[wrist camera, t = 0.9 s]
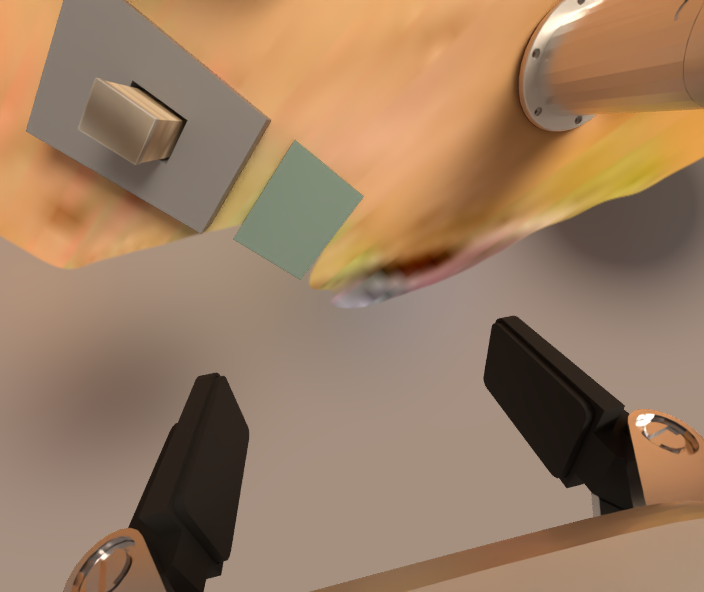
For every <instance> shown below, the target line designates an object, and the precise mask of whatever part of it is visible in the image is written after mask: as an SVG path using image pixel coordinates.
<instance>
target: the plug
mask: <svg viewBox="0 0 704 592" xmlns="http://www.w3.org/2000/svg"><path fill="white" fill-rule="evenodd" d="M187 121H188V120H186V119H185V118H184V117H182V116H181V115H180V114H178V113H177V112H176V111H174V110H173V109H171V108H170V107H169V106H167V105H166V104H165V103H163V102H162V101H160V100H159V99H158V98H156V97H155V96H154V95H152V94H151V93H149V92H148V91H146V90H142V89H138V88H134V87H129V86H125V85H121V84H117V83H113V82H109V81H105V80H103V79H100V78H95V81H94V84H93V87H92V90H91V93H90V95H89V98H88V101H87V104H86V107H85V110H84V113H83V115H82V118H81V121H80V124H79V127H78V130H80V131H82V132H83V133H85V134H86V135H88V136H90V137H91V138H93V139H95V140H96V141H98V142H99V143H101V144H103V145H104V146H106V147H107V148H109V149H111V150H112V151H114V152H115V153H117V154H119V155H120V156H122V157H123V158H125V159H127V160H128V161H130V162H131V163H133V164H135V165H138V164H141V163H143V162H148V161H153V160H158V159H163V158H168V157H170V156H171V154H172V152H173V150H174V148H175V146H176V144H177V141H178V139H179V137H180V135H181V133H182V131H183V129H184V127H185V125H186V123H187Z"/></svg>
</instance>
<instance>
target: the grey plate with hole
mask: <svg viewBox="0 0 704 592" xmlns="http://www.w3.org/2000/svg"><path fill="white" fill-rule="evenodd" d="M95 78H100V79H103V80H105V81H109V82H113V83H117V84H121V85H125V86H129V87H134V88H138V89H142V90H146V91H148V92H149V93H151V94H152V95H154V96H155V97H156V98H158V99H159V100H160V101H162V102H163V103H165V104H166V105H167V106H169V107H170V108H171V109H173V110H174V111H176V112H177V113H178V114H180V115H181V116H182V117H184V118H185V119H186V120H188V121H187V123H186V125H185V127H184V129H183V131H182V133H181V135H180V137H179V139H178V141H177V144H176V146H175V148H174V150H173V152H172V154H171V156H170V157H168V158H163V159H158V160H153V161H148V162H143V163H141V164H138V165H135V164H133V163H131V162H130V161H128V160H127V159H125V158H123V157H122V156H120V155H119V154H117V153H115V152H114V151H112V150H111V149H109V148H107V147H106V146H104V145H103V144H101V143H99V142H98V141H96V140H95V139H93V138H91V137H90V136H88V135H86V134H85V133H83V132H82V131H80V130H78V127H79V124H80V121H81V118H82V115H83V113H84V110H85V107H86V104H87V101H88V98H89V95H90V93H91V90H92V87H93V84H94V81H95ZM270 122H271V120H270V119H269V118H268V117H267V116H265V115H264V114H263V113H262V112H261V111H259V110H258V109H257V108H256V107H255V106H253V105H252V104H251V103H250V102H248V101H247V100H246V99H245V98H244V97H242V96H241V95H240V94H239V93H238V92H236V91H235V90H234V89H233V88H231V87H230V86H229V85H228V84H227V83H225V82H224V81H223V80H222V79H221V78H219V77H218V76H217V75H216V74H215V73H213V72H212V71H211V70H210V69H208V68H207V67H206V66H205V65H204V64H202V63H201V62H200V61H199V60H198V59H196V58H195V57H194V56H193V55H191V54H190V53H189V52H188V51H187V50H185V49H184V48H183V47H182V46H181V45H179V44H178V43H177V42H176V41H174V40H173V39H172V38H171V37H170V36H168V35H167V34H166V33H165V32H164V31H162V30H161V29H160V28H159V27H157V26H156V25H155V24H154V23H153V22H151V21H150V20H149V19H148V18H147V17H145V16H144V15H143V14H142V13H140V12H139V11H138V10H137V9H136V8H134V7H133V6H132V5H131V4H130V3H128V2H127V1H126V0H63V4H62V7H61V11H60V14H59V18H58V21H57V24H56V28H55V31H54V35H53V38H52V42H51V45H50V49H49V52H48V56H47V59H46V63H45V66H44V70H43V73H42V77H41V80H40V84H39V87H38V91H37V94H36V98H35V101H34V105H33V108H32V112H31V115H30V118H29V122H28V125H27V129H26V132H28V133H30V134H31V135H33V136H35V137H37V138H38V139H40V140H42V141H43V142H45V143H47V144H49V145H50V146H52V147H54V148H55V149H57V150H59V151H60V152H62V153H64V154H66V155H67V156H69V157H71V158H72V159H74V160H76V161H78V162H79V163H81V164H83V165H84V166H86V167H88V168H90V169H91V170H93V171H95V172H96V173H98V174H100V175H101V176H103V177H105V178H107V179H108V180H110V181H112V182H113V183H115V184H117V185H119V186H120V187H122V188H124V189H125V190H127V191H129V192H131V193H132V194H134V195H136V196H137V197H139V198H141V199H142V200H144V201H146V202H148V203H149V204H151V205H153V206H154V207H156V208H158V209H160V210H161V211H163V212H165V213H166V214H168V215H170V216H172V217H173V218H175V219H177V220H178V221H180V222H182V223H183V224H185V225H187V226H189V227H190V228H192V229H194V230H195V231H197V232H199V233H202V232H203V231H204V230H205V229H206V228H208V227H209V226H210V225H211V224H212V222H213V220H214V218H215V217H216V215H217V213H218V211H219V210H220V208H221V206H222V205H223V203H224V201H225V199H226V198H227V196H228V194H229V192H230V191H231V189H232V187H233V186H234V184H235V182H236V180H237V179H238V177H239V175H240V174H241V172H242V170H243V168H244V167H245V165H246V163H247V161H248V160H249V158H250V156H251V155H252V153H253V151H254V149H255V148H256V146H257V144H258V142H259V141H260V139H261V137H262V136H263V134H264V132H265V130H266V129H267V127H268V125H269V123H270Z"/></svg>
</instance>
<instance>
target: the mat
mask: <svg viewBox="0 0 704 592" xmlns="http://www.w3.org/2000/svg"><path fill="white" fill-rule="evenodd" d="M362 198H363V195H361V194H360V193H359V192H358V191H356V190H355V189H354V188H353V187H352V186H350V185H349V184H348V183H347V182H346V181H344V180H343V179H342V178H341V177H340V176H338V175H337V174H336V173H335V172H333V171H332V170H331V169H330V168H329V167H327V166H326V165H325V164H324V163H323V162H321V161H320V160H319V159H318V158H316V157H315V156H314V155H313V154H312V153H310V152H309V151H308V150H307V149H306V148H304V147H303V146H302V145H301V144H299V143H298V142H297V141H296V140H295V141H294V142H293V144H292V145H291V147H290V149H289V150H288V152H287V153H286V155H285V157H284V158H283V160H282V161H281V163H280V165H279V166H278V168H277V169H276V171H275V173H274V174H273V176H272V177H271V179H270V181H269V182H268V184H267V186H266V187H265V189H264V190H263V192H262V194H261V195H260V197H259V198H258V200H257V202H256V203H255V205H254V206H253V208H252V210H251V211H250V213H249V214H248V216H247V218H246V219H245V221H244V222H243V224H242V226H241V227H240V229H239V230H238V232H237V234H236V235H235V237H234V238H233V239H234V240H235V241H237V242H239V243H240V244H242V245H244V246H245V247H247V248H249V249H250V250H252V251H254V252H255V253H257V254H258V255H260V256H262V257H263V258H265V259H267V260H268V261H270V262H272V263H273V264H275V265H277V266H278V267H280V268H282V269H283V270H285V271H287V272H288V273H290V274H292V275H293V276H295V277H297V278H298V279H300V280H301V278H302V277H303V276H304V274H305V273H306V272H307V271H308V269H309V268H310V267H311V265H312V264H313V263H314V261H315V260H316V259H317V257H318V256H319V255H320V253H321V252H322V251H323V249H324V248H325V247H326V246H327V244H328V243H329V242H330V240H331V239H332V238H333V236H334V235H335V234H336V232H337V231H338V230H339V228H340V227H341V226H342V225H343V223H344V222H345V221H346V219H347V218H348V217H349V215H350V214H351V213H352V211H353V210H354V209H355V207H356V206H357V205H358V204H359V202H360V201H361V200H362Z"/></svg>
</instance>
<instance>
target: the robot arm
mask: <svg viewBox="0 0 704 592" xmlns="http://www.w3.org/2000/svg"><path fill="white" fill-rule="evenodd" d="M519 96H520V103H521V105H522V108H523V111H524V113H525V115H526V116H527V118H528V119H529V120H530V121H531V122H532V123H533V124H534V125H535V126H537V127H539V128H541V129H543V130H547V131H566V130H571V129H574V128H577V127H579V126H581V125H583V124H585V123H586V122H588V121H590V120H591V119H592V118H594V117H595V116H596V115H597V114H616V113H636V112H656V111H675V110H695V109H704V0H561V1H560V2H559V3H558V4H556V5H555V6H554V7H553V8H552V9H551V10H550V11H549V12H548V13H547V15H546V16H545V17H544V18H543V20H542V21H541V22H540V23H539V25H538V27H537V28H536V30H535V32H534V33H533V35H532V37H531V39H530V41H529V43H528V45H527V48H526V50H525V53H524V56H523V60H522V63H521V68H520V74H519ZM484 383H485V386H486V387H487V389H488V390H489V392H490V393H491V394H492V396H493V397H494V398H495V399H496V401H497V402H498V404H499V405H500V406H501V408H502V409H503V410H504V412H505V413H506V414H507V416H508V417H509V418H510V420H511V421H512V422H513V424H514V425H515V426H516V428H517V429H518V430H519V432H520V433H521V434H522V436H523V437H524V438H525V440H526V441H527V442H528V444H529V445H530V446H531V448H532V449H533V450H534V452H535V453H536V454H537V456H538V457H539V458H540V460H541V461H542V462H543V464H544V465H545V466H546V468H547V469H548V470H549V472H550V473H551V474H552V475H553V476H554V477H556V478H559V479H560V480H561V481H562V483H563V484H564V485H565V487H566V488H569V487H573V486H577V485H581V484H585V485H586V486H587V487H588V489H589V490H590V491H591V495H592V505H593V518H589V519H584V520H581V521H577V522H573V523H569V524H565V525H561V526H557V527H553V528H549V529H546V530H541V531H538V532H534V533H530V534H526V535H522V536H519V537H514V538H510V539H507V540H503V541H499V542H495V543H491V544H487V545H484V546H480V547H476V548H472V549H468V550H465V551H461V552H457V553H453V554H449V555H446V556H442V557H438V558H435V559H430V560H427V561H423V562H419V563H415V564H412V565H408V566H404V567H400V568H396V569H393V570H389V571H385V572H381V573H378V574H374V575H370V576H366V577H363V578H359V579H355V580H352V581H348V582H344V583H340V584H337V585H333V586H329V587H326V588H322V589H318V590H315V591H311V592H704V439H703V438H702V436H701V435H700V434H698V433H697V432H696V431H695V430H694V429H693V428H692V427H690V426H689V425H687V424H686V423H684V422H683V421H681V420H679V419H677V418H675V417H673V416H671V415H668V414H665V413H663V412H660V411H655V410H650V409H638V410H635V411H632V412H631V413H630V414H629V413H628V412H626V411H625V410H624V407H625V406H624V405H623V404H622V403H621V402H620V401H619V400H617V399H616V398H615V397H614V396H612V395H611V394H610V393H609V392H608V391H606V390H605V389H604V388H603V387H602V386H600V385H599V384H598V383H597V382H595V381H594V380H593V379H592V378H591V377H590V376H588V375H587V374H586V373H585V372H583V371H582V370H581V369H580V368H579V367H577V366H576V365H575V364H574V363H573V362H571V361H570V360H569V359H568V358H566V357H565V356H564V355H563V354H562V353H560V352H559V351H558V350H557V349H556V348H554V347H553V346H552V345H551V344H550V343H548V342H547V341H546V340H545V339H543V338H542V337H541V336H540V335H539V334H537V333H536V332H535V331H534V330H533V329H531V328H530V327H529V326H528V325H526V324H525V323H524V322H523V321H522V320H521V319H519V318H518V317H516V316H510V317H504V318H499V319H497V320H496V322H495V324H493V325H492V329H491V335H490V342H489V347H488V354H487V359H486V365H485V372H484ZM248 442H249V429H248V426H247V424H246V422H245V419H244V417H243V415H242V413H241V410H240V408H239V406H238V404H237V401H236V399H235V397H234V395H233V392H232V390H231V388H230V386H229V383H228V381H227V379H226V377H225V376H220V375H219V374H218V373H212V374H208V375H202V376H198V377H197V379H196V380H195V383H194V385H193V388H192V390H191V393H190V395H189V398H188V400H187V402H186V405H185V407H184V409H183V412H182V414H181V416H180V419H179V421H178V423H176V424H175V425H174V426H173V427H172V429H171V431H170V432H169V435H168V437H167V439H166V442H165V444H164V446H163V448H162V451H161V453H160V455H159V458H158V460H157V463H156V465H155V467H154V469H153V472H152V474H151V476H150V479H149V481H148V483H147V485H146V488H145V490H144V492H143V495H142V497H141V500H140V502H139V504H138V506H137V509H136V511H135V513H134V516H133V518H132V520H131V523H130V525H129V527H128V528H126V529H120V530H118V531H116V532H113V533H111V534H109V535H108V536H106V537H104V538H103V539H102V540H100V541H99V542H97V543H96V544H95V545H94V546H93V547H92V548H91V549H90V550H89V551H88V552H87V553H86V554H85V555H84V556H83V558H82V559H81V560H80V561H79V562H78V564H77V565H76V566H75V568H74V570H73V571H72V573H71V575H70V576H69V578H68V580H67V582H66V585H65V588H64V591H63V592H204V587H205V582H206V579H208V578H212V577H216V576H220V575H221V573H222V567H223V561H226V560H228V558H229V556H230V552H231V547H232V541H233V535H234V529H235V522H236V516H237V510H238V503H239V497H240V491H241V485H242V479H243V472H244V467H245V460H246V454H247V448H248Z"/></svg>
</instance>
